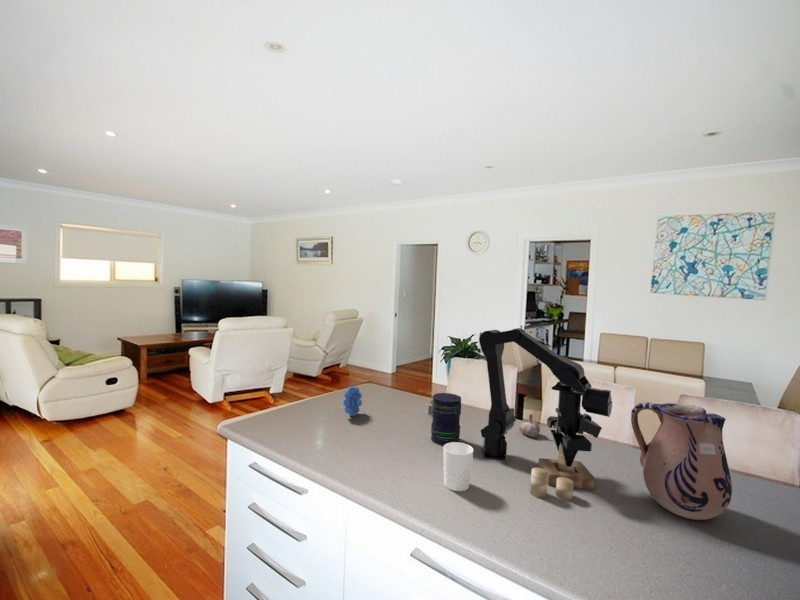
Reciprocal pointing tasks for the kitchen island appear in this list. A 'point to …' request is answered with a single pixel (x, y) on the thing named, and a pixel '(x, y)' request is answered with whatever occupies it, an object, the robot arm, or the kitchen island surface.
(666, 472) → the ceramic pitcher
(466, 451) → the white cup
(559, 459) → the long dowel
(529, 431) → the garlic bulb
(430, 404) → the platform
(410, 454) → the kitchen island surface
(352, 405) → the grapes
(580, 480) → the collar block
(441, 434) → the storage jar
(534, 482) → the medium dowel
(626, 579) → the kitchen island surface
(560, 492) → the stub dowel
